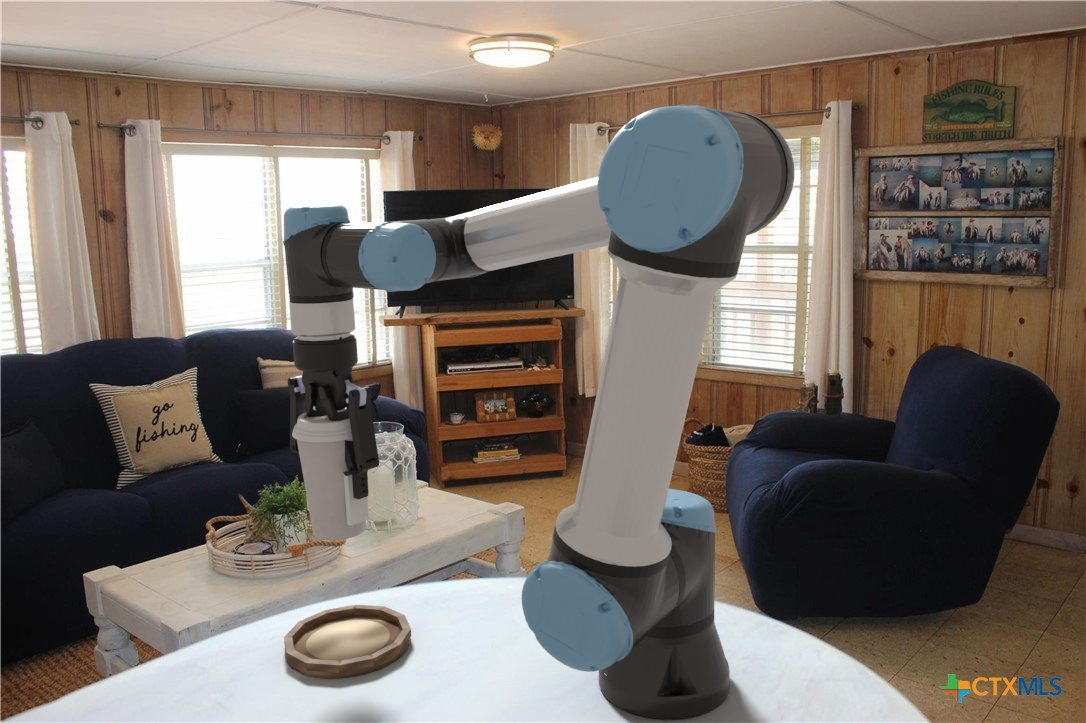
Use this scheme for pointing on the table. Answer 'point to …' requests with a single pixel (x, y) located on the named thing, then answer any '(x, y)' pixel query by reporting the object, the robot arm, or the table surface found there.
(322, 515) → the coffee cup
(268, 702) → the table surface
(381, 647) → the polygonal wooden dish
